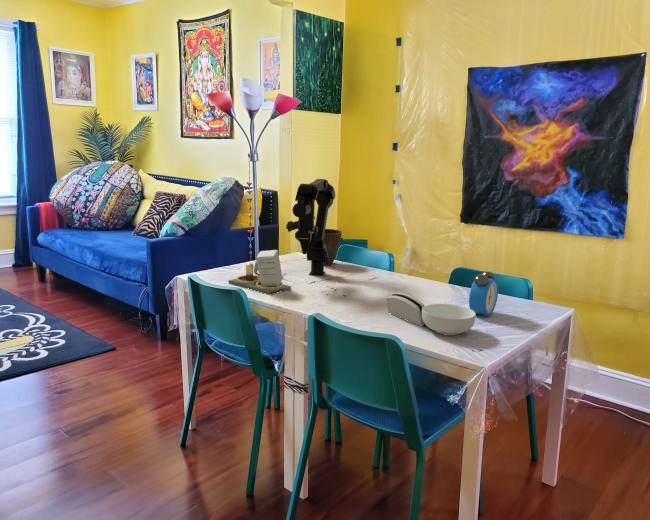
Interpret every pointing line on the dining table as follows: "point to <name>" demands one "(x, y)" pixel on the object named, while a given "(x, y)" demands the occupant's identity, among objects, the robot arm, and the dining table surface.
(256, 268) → the gray elephant figurine
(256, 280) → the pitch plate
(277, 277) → the supplement box
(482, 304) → the alarm clock
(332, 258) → the plant pot
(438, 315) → the cereal bowl
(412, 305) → the napkin holder
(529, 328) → the dining table surface
